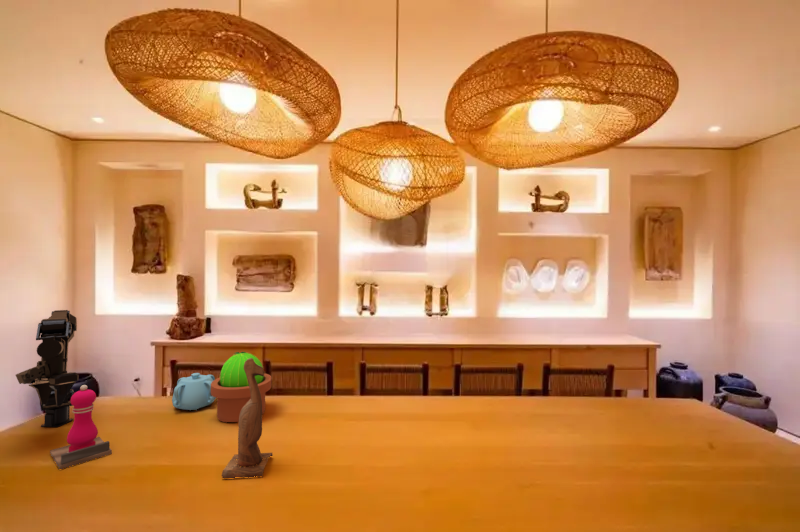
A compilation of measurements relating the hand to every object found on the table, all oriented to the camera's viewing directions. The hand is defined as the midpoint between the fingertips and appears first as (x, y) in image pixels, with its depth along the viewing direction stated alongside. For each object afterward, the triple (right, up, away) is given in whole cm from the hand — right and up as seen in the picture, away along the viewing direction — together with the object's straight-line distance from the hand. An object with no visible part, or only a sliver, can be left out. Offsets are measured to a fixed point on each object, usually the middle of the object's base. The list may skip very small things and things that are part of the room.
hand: (51, 405), depth 121 cm
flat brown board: (+16, -12, -7) cm, 21 cm away
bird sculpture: (+71, -13, -14) cm, 73 cm away
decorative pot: (+29, -13, +33) cm, 46 cm away
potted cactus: (+52, -13, +25) cm, 59 cm away
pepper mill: (+17, -11, -8) cm, 22 cm away
